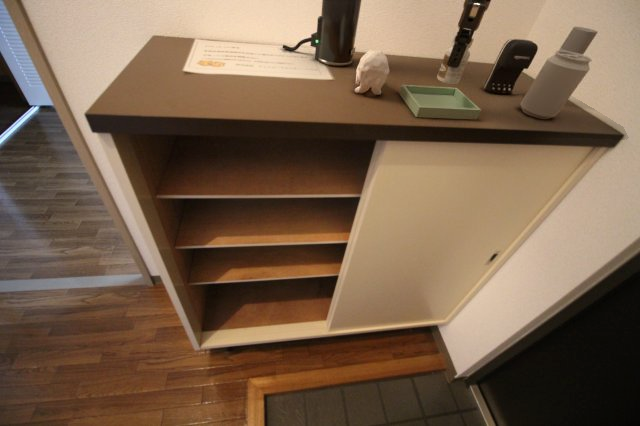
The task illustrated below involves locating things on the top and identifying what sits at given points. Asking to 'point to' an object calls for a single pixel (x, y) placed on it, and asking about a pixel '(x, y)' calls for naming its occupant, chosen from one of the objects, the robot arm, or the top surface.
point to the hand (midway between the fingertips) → (453, 62)
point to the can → (555, 84)
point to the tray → (439, 102)
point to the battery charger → (510, 65)
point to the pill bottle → (450, 73)
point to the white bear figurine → (372, 72)
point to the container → (578, 40)
